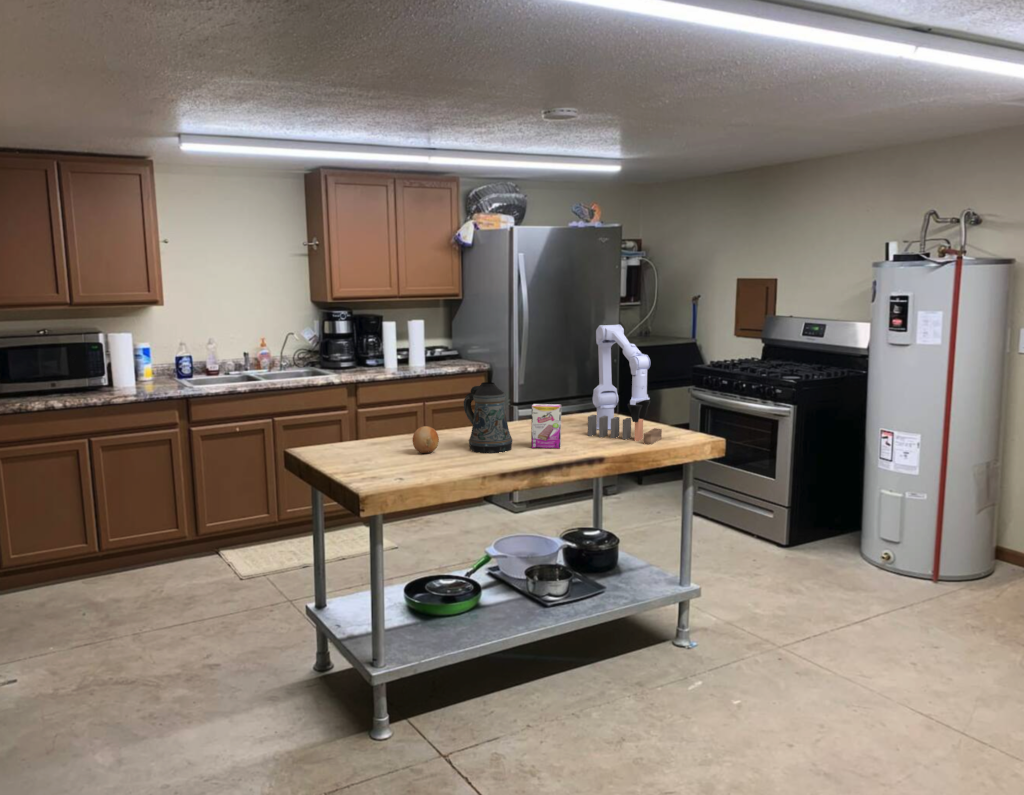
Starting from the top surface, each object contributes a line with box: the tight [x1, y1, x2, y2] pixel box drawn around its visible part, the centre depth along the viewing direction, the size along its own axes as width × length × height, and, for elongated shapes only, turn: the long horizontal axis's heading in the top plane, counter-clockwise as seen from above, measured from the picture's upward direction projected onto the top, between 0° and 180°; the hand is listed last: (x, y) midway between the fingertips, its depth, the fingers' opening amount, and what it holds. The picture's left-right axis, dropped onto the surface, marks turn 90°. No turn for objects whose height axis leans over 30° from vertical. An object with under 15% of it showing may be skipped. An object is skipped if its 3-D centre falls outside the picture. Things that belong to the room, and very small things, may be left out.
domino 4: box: [621, 417, 632, 440], centre depth 318 cm, size 2×5×8 cm, turn 150°
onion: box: [412, 425, 440, 454], centre depth 296 cm, size 10×10×10 cm
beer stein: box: [463, 381, 513, 454], centre depth 301 cm, size 16×19×25 cm
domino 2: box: [598, 416, 609, 438], centre depth 323 cm, size 2×5×8 cm, turn 150°
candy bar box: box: [530, 403, 562, 450], centre depth 303 cm, size 11×5×16 cm, turn 84°
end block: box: [643, 427, 663, 445], centre depth 313 cm, size 3×12×4 cm, turn 150°
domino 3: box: [610, 416, 620, 439], centre depth 321 cm, size 2×5×8 cm, turn 150°
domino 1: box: [587, 414, 597, 437], centre depth 326 cm, size 2×5×8 cm, turn 150°
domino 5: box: [634, 418, 644, 442], centre depth 316 cm, size 2×5×8 cm, turn 150°
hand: (638, 420), depth 315 cm, fingers open, 7 cm apart
